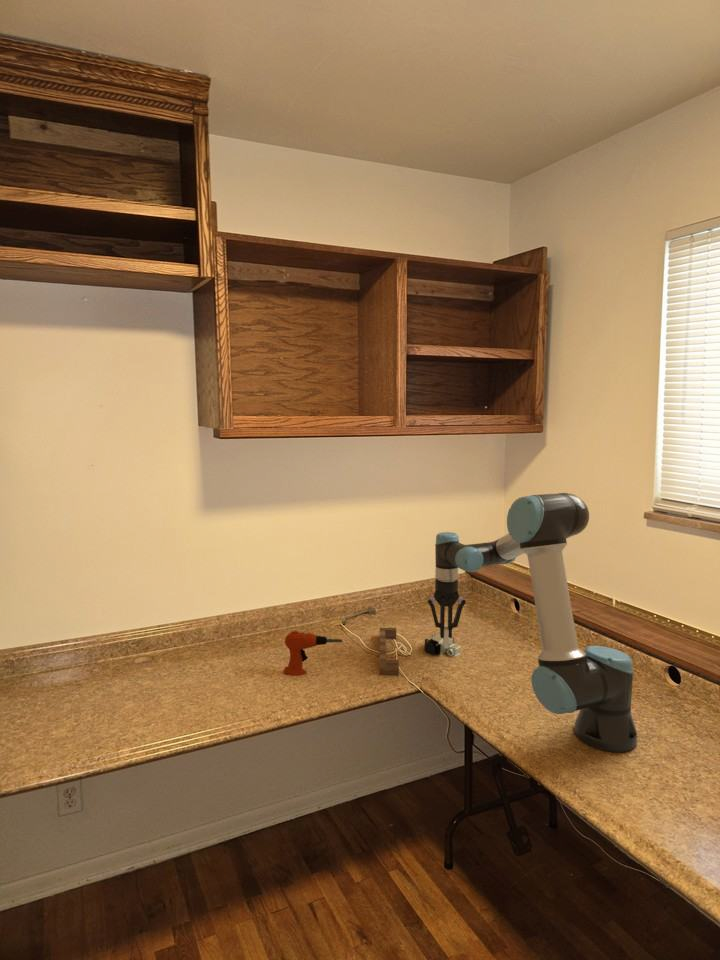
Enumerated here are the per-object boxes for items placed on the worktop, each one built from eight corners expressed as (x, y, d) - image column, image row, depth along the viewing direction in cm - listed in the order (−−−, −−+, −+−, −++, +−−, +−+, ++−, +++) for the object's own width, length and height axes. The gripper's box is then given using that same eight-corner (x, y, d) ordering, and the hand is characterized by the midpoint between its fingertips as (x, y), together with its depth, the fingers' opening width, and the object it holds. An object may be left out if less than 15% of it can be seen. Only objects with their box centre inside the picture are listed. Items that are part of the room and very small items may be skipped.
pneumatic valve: (448, 663, 198) (419, 651, 206) (466, 653, 207) (438, 642, 215) (449, 648, 198) (420, 636, 205) (468, 638, 206) (439, 628, 214)
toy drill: (342, 681, 185) (341, 634, 183) (282, 679, 186) (281, 633, 185) (343, 674, 190) (343, 628, 188) (285, 673, 191) (284, 628, 189)
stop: (398, 677, 187) (398, 662, 187) (379, 677, 187) (379, 662, 187) (396, 641, 217) (396, 627, 216) (379, 640, 217) (379, 627, 217)
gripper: (464, 575, 202) (463, 642, 205) (426, 575, 202) (425, 642, 205) (467, 582, 194) (466, 651, 197) (427, 582, 195) (427, 651, 198)
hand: (445, 646), depth 201 cm, fingers closed
